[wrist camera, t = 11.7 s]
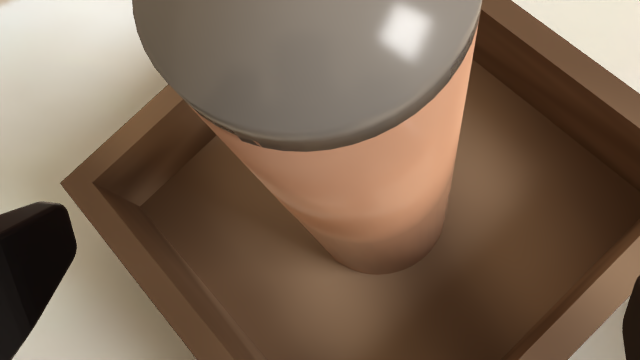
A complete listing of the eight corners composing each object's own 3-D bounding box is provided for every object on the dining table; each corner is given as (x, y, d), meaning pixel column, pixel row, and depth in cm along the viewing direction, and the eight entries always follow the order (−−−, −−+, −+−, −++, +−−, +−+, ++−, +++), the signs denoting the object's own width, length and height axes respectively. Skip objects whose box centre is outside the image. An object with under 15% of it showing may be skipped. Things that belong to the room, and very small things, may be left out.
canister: (377, 304, 19) (290, 208, 6) (285, 208, 20) (68, -20, 8) (475, 206, 19) (573, -64, 7) (377, 119, 20) (310, -232, 8)
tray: (375, 523, 18) (361, 571, 14) (122, 211, 22) (60, 183, 18) (683, 209, 19) (748, 173, 15) (380, -28, 23) (371, -102, 19)
